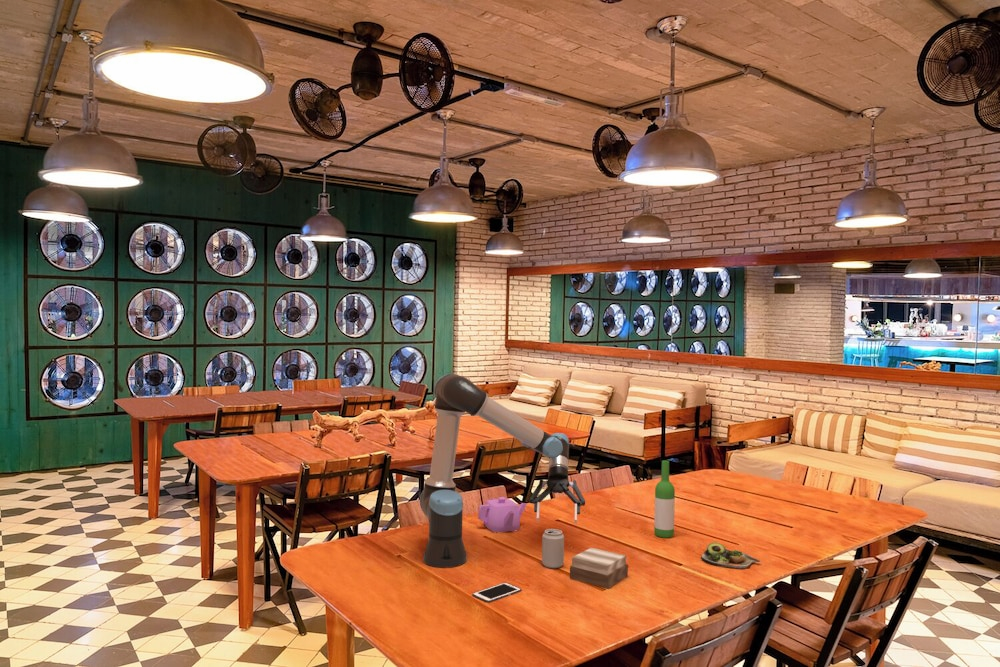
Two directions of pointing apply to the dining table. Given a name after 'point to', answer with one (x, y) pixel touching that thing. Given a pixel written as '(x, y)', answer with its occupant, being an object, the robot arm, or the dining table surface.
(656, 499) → the wine bottle
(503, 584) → the cell phone
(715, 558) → the salad plate
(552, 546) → the can
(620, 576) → the plinth
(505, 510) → the teakettle
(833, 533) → the dining table surface
